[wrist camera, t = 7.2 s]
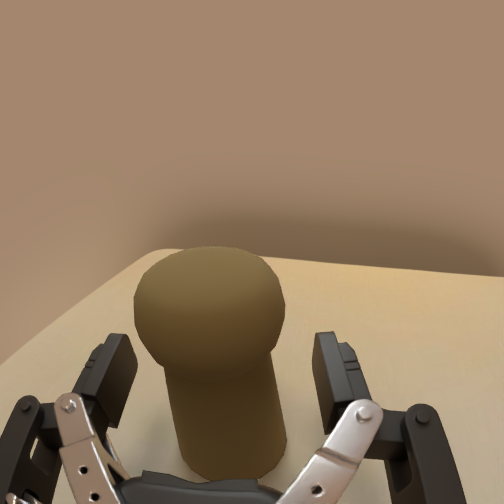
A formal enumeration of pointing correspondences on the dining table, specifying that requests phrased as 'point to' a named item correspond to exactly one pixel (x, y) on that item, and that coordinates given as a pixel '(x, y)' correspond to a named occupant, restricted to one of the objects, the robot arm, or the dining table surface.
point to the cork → (217, 356)
